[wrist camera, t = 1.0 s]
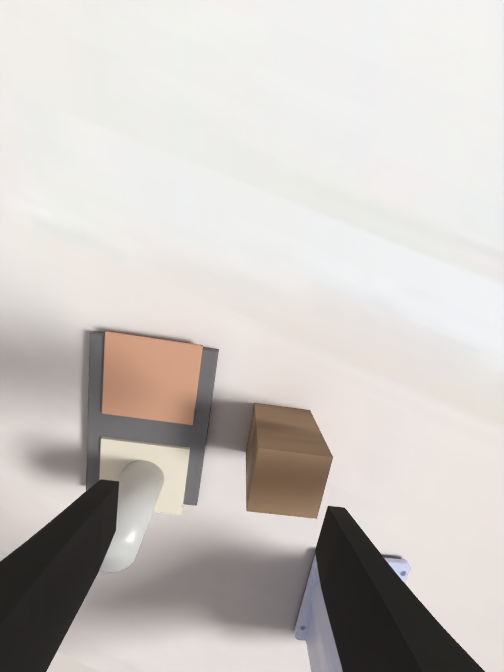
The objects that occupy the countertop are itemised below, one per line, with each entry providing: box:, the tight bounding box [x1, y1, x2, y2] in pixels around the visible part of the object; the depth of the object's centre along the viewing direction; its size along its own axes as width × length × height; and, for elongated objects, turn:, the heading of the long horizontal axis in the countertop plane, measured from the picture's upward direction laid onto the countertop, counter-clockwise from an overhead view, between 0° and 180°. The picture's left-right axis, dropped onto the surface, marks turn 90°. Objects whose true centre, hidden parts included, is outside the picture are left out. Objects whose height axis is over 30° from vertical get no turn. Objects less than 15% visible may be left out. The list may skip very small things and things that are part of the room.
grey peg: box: [99, 460, 164, 573], centre depth 16 cm, size 3×3×5 cm
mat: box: [86, 331, 219, 515], centre depth 18 cm, size 13×8×1 cm, turn 171°
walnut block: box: [246, 403, 333, 519], centre depth 17 cm, size 4×4×5 cm
